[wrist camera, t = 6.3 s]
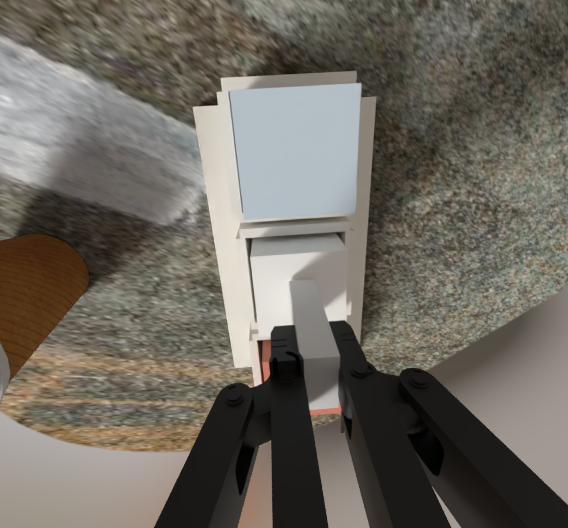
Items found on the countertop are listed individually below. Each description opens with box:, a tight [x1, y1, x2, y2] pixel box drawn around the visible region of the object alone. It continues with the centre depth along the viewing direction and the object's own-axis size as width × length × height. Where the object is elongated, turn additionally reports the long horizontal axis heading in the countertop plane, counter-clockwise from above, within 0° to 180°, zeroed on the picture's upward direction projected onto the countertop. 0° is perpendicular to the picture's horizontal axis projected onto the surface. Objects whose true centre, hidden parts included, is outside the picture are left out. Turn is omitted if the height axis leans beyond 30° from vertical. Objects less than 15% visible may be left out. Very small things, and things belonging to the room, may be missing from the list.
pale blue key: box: [230, 83, 361, 220], centre depth 15 cm, size 6×6×4 cm
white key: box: [250, 232, 348, 337], centre depth 19 cm, size 6×6×4 cm
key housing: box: [193, 71, 376, 386], centre depth 22 cm, size 24×12×5 cm, turn 3°
